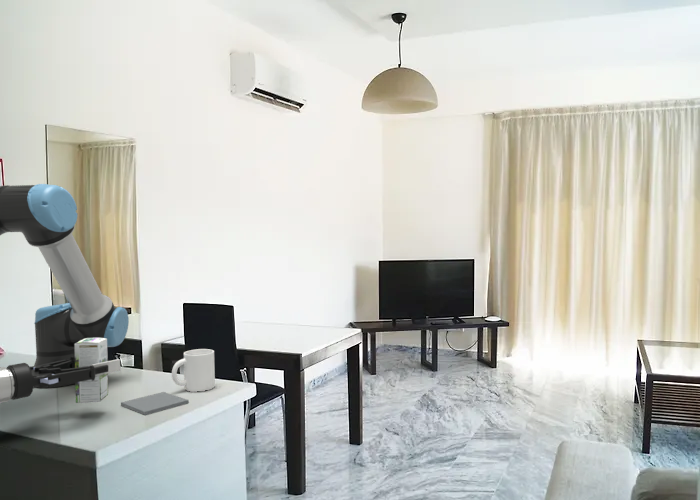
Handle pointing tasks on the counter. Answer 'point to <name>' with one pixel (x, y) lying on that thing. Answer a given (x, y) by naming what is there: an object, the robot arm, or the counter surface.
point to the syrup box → (87, 355)
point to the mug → (196, 370)
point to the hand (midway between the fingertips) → (111, 362)
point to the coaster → (154, 403)
